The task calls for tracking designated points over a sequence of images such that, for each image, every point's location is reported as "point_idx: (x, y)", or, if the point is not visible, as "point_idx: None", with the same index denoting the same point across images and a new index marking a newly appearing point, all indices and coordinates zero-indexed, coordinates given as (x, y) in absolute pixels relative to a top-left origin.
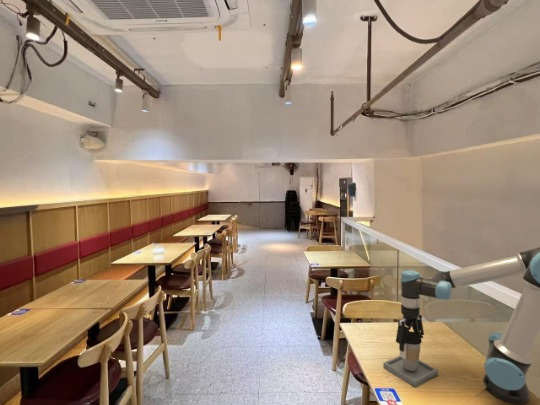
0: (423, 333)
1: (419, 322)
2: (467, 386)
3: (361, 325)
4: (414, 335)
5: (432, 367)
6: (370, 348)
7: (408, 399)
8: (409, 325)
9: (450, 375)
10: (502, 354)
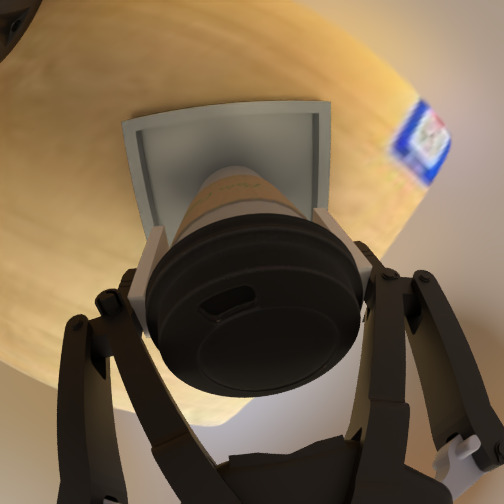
0: (71, 327)
1: (95, 462)
2: (89, 21)
3: None
4: (219, 334)
5: (130, 147)
6: None
7: (398, 80)
8: (401, 457)
9: (79, 101)
10: None
